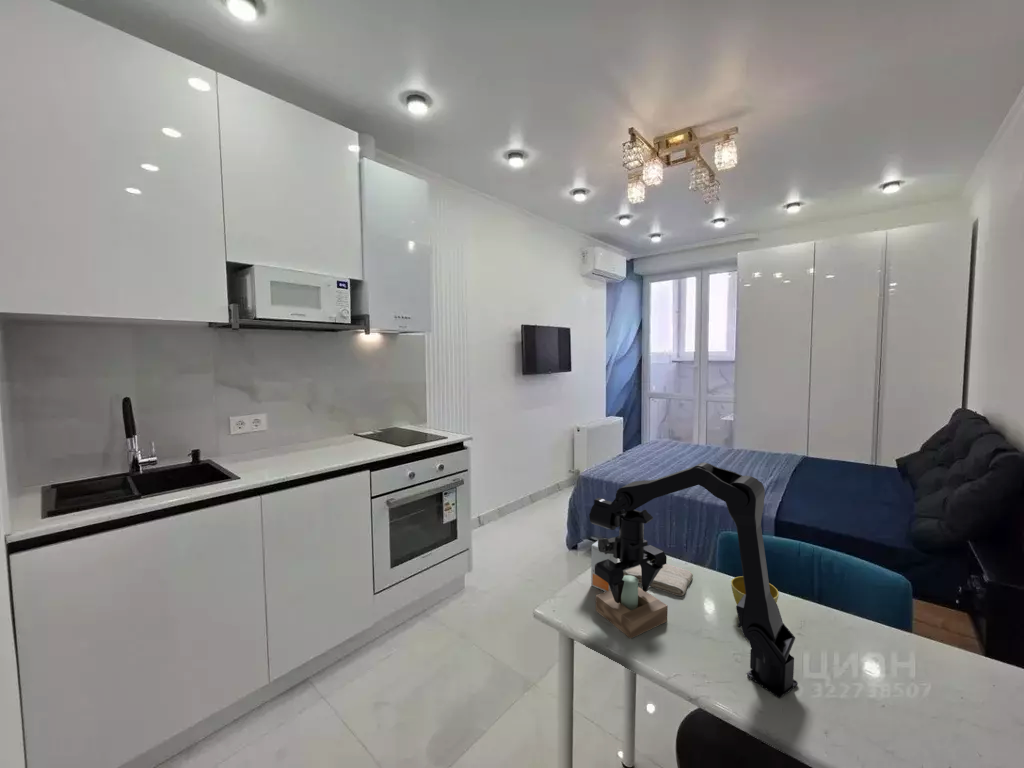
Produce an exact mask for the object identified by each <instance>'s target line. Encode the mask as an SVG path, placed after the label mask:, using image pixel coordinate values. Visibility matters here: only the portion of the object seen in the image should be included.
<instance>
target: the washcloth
mask: <svg viewBox="0 0 1024 768" xmlns="http://www.w3.org/2000/svg"><path fill="white" fill-rule="evenodd" d="M623 572H624V576H625V575H630V576H634V577H636V578H637V579H638V584H641V585H642V575H641V566H640V565H639V566H636V567H634V568H631V569H628V570H626V571H623ZM693 576H694V574H693V573H692V572H691V571H690V570H687V569H685V568H681V567H679V566H678V567H677V566H674V565H672V564H668V563H666V564H665V565H663V568H661V569H660V571H659V572H658V574H657V575H656V577H655V578H654V580H653V582H652V583H651V585H650V587H649V588H653V589H656V588H657V590H660V591H662V592H663V591H664V592H666V593H669V594H671V595H676V596H680V597H681V596H684V595H685V594H686V592H687V587H688V586H689V585H690V583H691V581H692V580H693Z"/></svg>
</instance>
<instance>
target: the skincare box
mask: <svg viewBox="0 0 1024 768" xmlns="http://www.w3.org/2000/svg"><path fill="white" fill-rule="evenodd" d="M590 556H591V560H590V561H591V562H590V563H591V564H590V565H591V566H590V567H591V571H590V572H591V575H590V577H591V579H590V581H591V583H590V585H591V586H592V587H594V588H597V589H600V590H601V591H604V592H606V591H609V590H611V589H610V586H609V584H608V582H606V581H605V580H603V579H602V578H600V577H599V576H597V575H596V574H595V564H596V563H598V562H601V561H604V560H607V559H609V560H611V561H612V562H614V563H618V559H616V558H614V557H613V554H605V553H603V552H600V551H599V549H598V540H597V541H595V542H594V543H592V544H591V555H590Z"/></svg>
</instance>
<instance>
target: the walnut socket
mask: <svg viewBox="0 0 1024 768" xmlns="http://www.w3.org/2000/svg"><path fill="white" fill-rule="evenodd" d="M668 607H669V606H668V605H667V604H666V603H665V602H663V601H661V600H660V599H658V598H657V597H656V596H654V595H652V594H650V593H649V592H648V591H647V592H645V591H643V590H642V587H639V586H638V608H636V609H634V610H629V609H628V608H626V607H625V606H624V605H622V604H621V599H620V602H619V603H617V602H615V600H614V597H613V595H612V592H611V590H609V591H606V592H605V591H604V592H601V593H599V594H596V595H595V611H596V612H597V613H598V614H599V615H600V616H602V618H604V619H605V620H607V621H608V622H609V623H610V624H612V626H614V627H615V628H617V629H618V630H619V631H620V632H622V633H623V634H624V635H626V636H627V637H628V638H629V639H633V638H635V637H637V636H639V635H641V634H643V633H646V632H648V631H650V630H652V629H654V628H657V627H658V626H661V625H662V624H664V623H666V622H668V613H669V612H668Z"/></svg>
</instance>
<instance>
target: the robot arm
mask: <svg viewBox="0 0 1024 768" xmlns="http://www.w3.org/2000/svg"><path fill="white" fill-rule="evenodd" d="M696 486H700V487H702V488H703V489H706V491H707V492H709V493H710V494H712V496H714V497H716V498H717V499H719V500H721V501H723V502H725V505H726V508H727V511H728V514H729V515H730V517H731V518H732V520H733V522H734V524H735V526H736V532H737V539H738V548H739V555H740V556H739V557H740V562H741V568H742V569H741V570H742V576H743V578H744V586H745V593H746V594H744V596H743V597H742V599H741V600H740V601H739V603H738V604H736V607H735V609H736V613H737V616H738V624H737V628H741V632H742V634H743V636H744V638H745V639H747V640H748V642H749V645H750V648H751V649H750V653H749V654H750V659H749V662H750V663H749V667H750V669H751V670H749V671H747V673H746V675H747V677H748V678H749V679H751V680H752V681H754V682H755V683H757V685H760V687H762V688H763V689H765V690H767V691H768V692H770V693H772V695H774V696H775V697H777V698H779V699H780V698H783V697H784V696H785V695H787V694H788V693H789V692H790V691H792V690H793V689H794V688H796V687H797V686H798V684H799V683H798V681H797V680H795V679H794V675H795V674H794V673H795V657H794V656H792V655H791V654H790V652H791V651H792V648H793V645H794V643H795V641H796V636H795V635H794V634H793V633H792V631H791V630H790V629H789V628H788V627H787V626H786V624H785V623H784V621H783V618H782V615H781V611H780V609H779V605H778V603H776V602H775V600H774V598H773V597H772V595H771V593H770V587H769V583H770V582H769V581H770V579H769V574H768V566H767V560H766V559H767V558H766V550H765V544H764V537H763V530H762V520H763V519H762V518H763V515H764V514H763V513H764V507H765V494H766V493H765V492H766V490H765V487H764V486H765V485H763V483H762V482H761V481H760V480H759V479H757V478H756V477H754V476H752V475H742V474H740V473H737V472H736V471H732V470H728V469H726V468H725V469H724V468H721V467H717V466H715V465H713V464H711V463H708V462H700V463H698V464H697V465H694V466H691V467H689V468H686V469H683V470H679V471H676V472H674V473H671V474H668V475H665V476H662V477H659V478H656V479H652V480H651V479H647V480H645V479H644V480H637V481H632V482H630V483H628V484H625V485H624V486H622V487H619V488H618V489H616V492H615V498H614V500H613V501H611V500H608V499H607V500H606V499H604V498H602V497H596V498H595V499H594V500H593V505H592V506H591V509H590V512H589V516H588V517H589V521H590V523H591V524H592V525H596V526H598V527H601V528H604V529H607V530H611V531H615V530H616V529H617V528H619V531H618V532H619V535H618V536H615V537H611V538H606V537H605V538H604V537H602V538H598V540H597V541H598V549H599V551H600V552H603V553H605V554H613V557H614V558H616V559H619V562H617V563H614V562H612V561H611V560H609V559H607V560H604V561H601V562H598V563H596V564H595V574H596V575H597V576H599V577H600V578H602V579H603V580H605V581H606V582H608V584H609V586H610V589H611V592H612V595H613V597H614V600H615V602H617V603H619V602H620V599H621V594H622V590H623V586H624V581H623V580H622V579H623V577H624V572H623V571H626V570H628V569H631V568H634V567H636V566H639V565H640V566H641V575H642V584H641V589H642V590H643V591H645V592H647V593H648V590H649V588H651V587H650V585H651V583H652V582H653V580H654V578H655V577H656V575H657V574H658V572H659V571H660V569H661V568H663V565H665V564H667V559H668V558H667V557H668V556H667V555H666V553H665V552H664V551H663V550H661V549H659V548H657V547H655V546H653V545H651V544H649V543H648V540H646V539H645V538H644V537H645V524H648V523H649V522H651V521H652V520H653V519H654V517H653V516H652V515H651V513H649V511H647V509H645V508H644V509H643V510H640V511H639V510H636V509H638V508H640V507H642V506H643V505H645V504H647V503H648V502H651V501H652V500H654V499H657V498H660V497H663V496H666V495H669V494H673V493H675V492H679V491H683V490H686V489H689V488H693V487H696ZM648 544H649V545H648Z"/></svg>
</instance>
